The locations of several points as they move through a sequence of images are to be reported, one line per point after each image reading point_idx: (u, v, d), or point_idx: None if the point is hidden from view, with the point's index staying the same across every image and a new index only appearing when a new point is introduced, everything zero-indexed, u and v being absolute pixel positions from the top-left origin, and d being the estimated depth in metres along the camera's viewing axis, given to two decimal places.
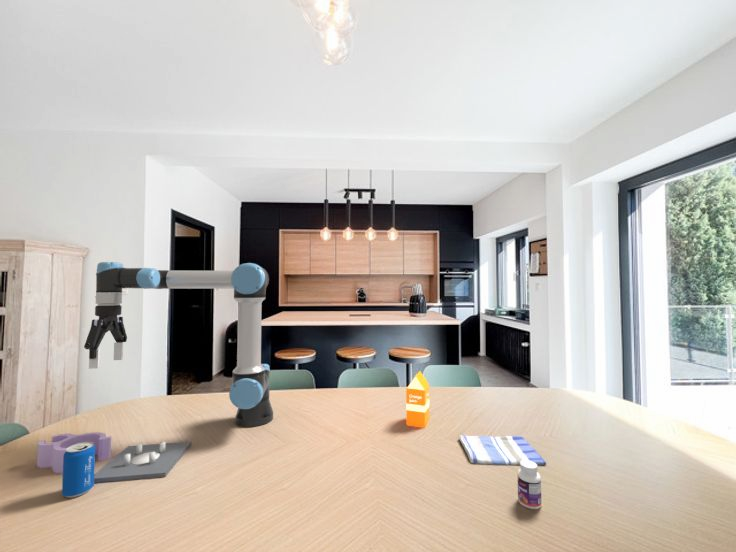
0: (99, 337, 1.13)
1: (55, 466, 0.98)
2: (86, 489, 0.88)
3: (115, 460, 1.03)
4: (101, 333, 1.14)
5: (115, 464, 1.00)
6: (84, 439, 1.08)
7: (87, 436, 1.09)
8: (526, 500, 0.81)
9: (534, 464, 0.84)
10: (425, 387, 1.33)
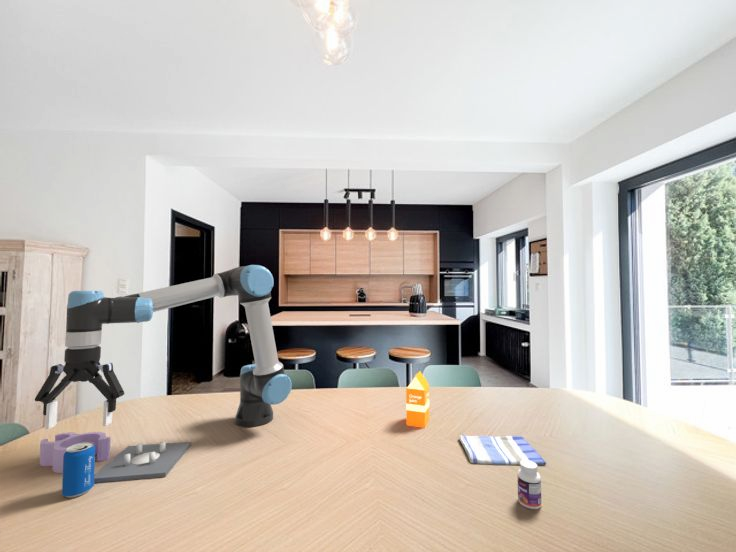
0: None
1: (55, 465, 0.99)
2: (86, 489, 0.88)
3: (115, 460, 1.03)
4: None
5: (115, 464, 1.00)
6: (85, 438, 1.09)
7: (88, 435, 1.09)
8: (526, 500, 0.81)
9: (534, 464, 0.84)
10: (425, 387, 1.33)
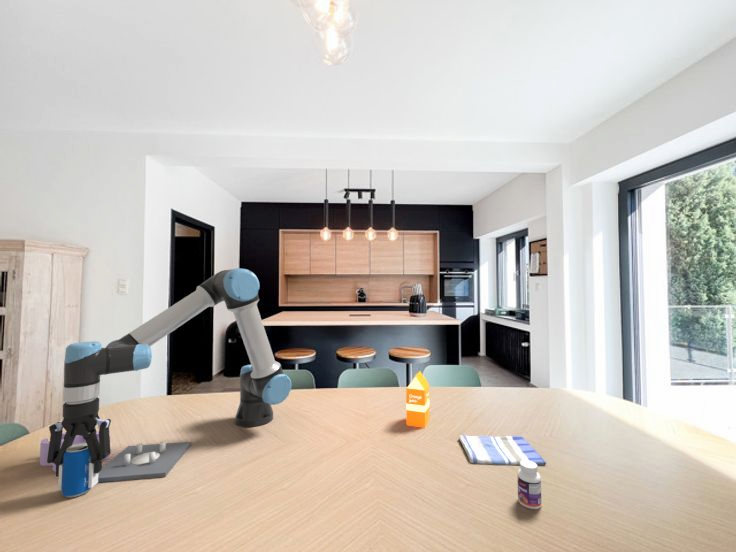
0: None
1: (54, 465, 0.99)
2: (86, 489, 0.88)
3: (115, 460, 1.03)
4: None
5: (115, 464, 1.00)
6: None
7: None
8: (526, 500, 0.81)
9: (534, 464, 0.84)
10: (425, 387, 1.33)
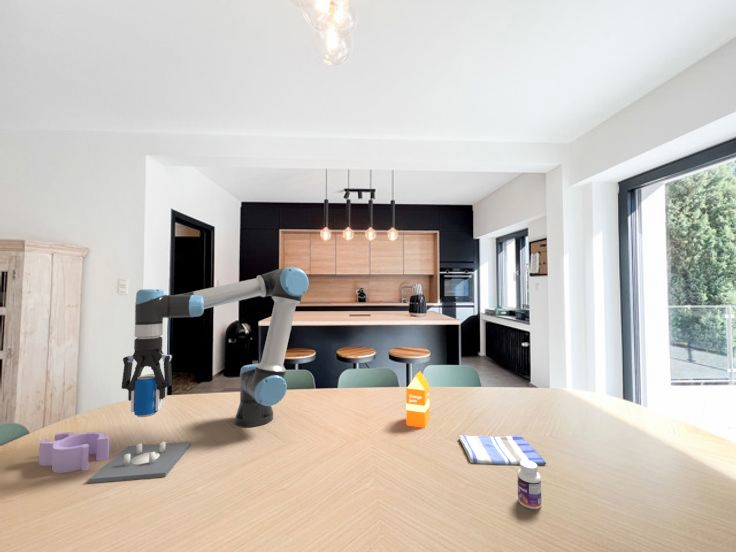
0: None
1: (54, 465, 0.99)
2: (154, 411, 1.04)
3: (115, 460, 1.03)
4: None
5: (115, 464, 1.00)
6: (85, 438, 1.09)
7: (88, 435, 1.09)
8: (526, 500, 0.81)
9: (534, 464, 0.84)
10: (425, 387, 1.33)
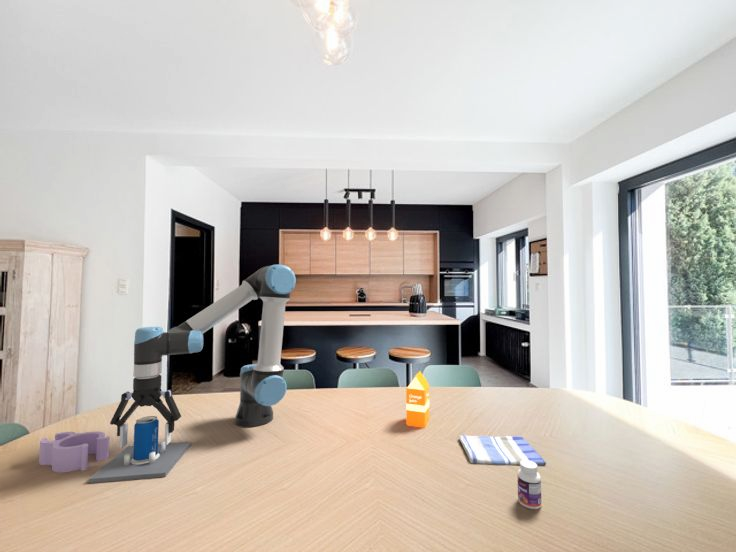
0: (125, 413, 1.03)
1: (53, 465, 0.99)
2: None
3: (115, 460, 1.03)
4: (129, 409, 1.03)
5: (115, 464, 1.00)
6: (85, 438, 1.09)
7: (88, 435, 1.09)
8: (526, 500, 0.81)
9: (534, 464, 0.84)
10: (425, 387, 1.33)
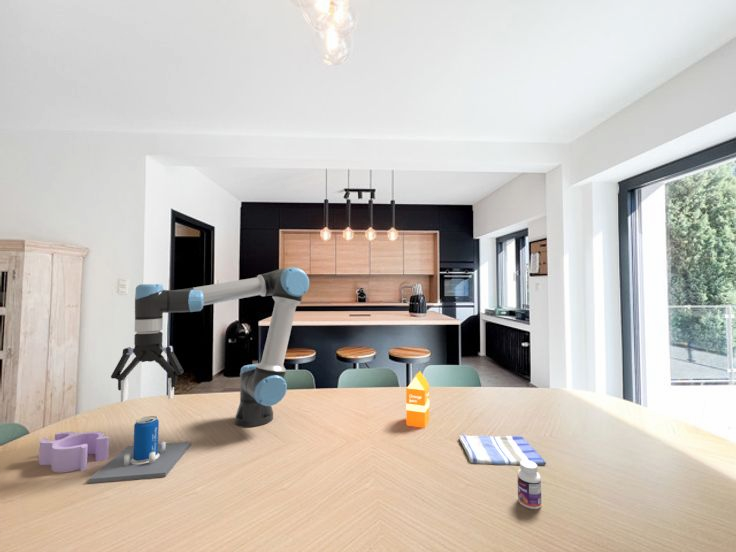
0: (126, 368, 1.04)
1: (53, 465, 0.99)
2: None
3: (115, 460, 1.03)
4: (130, 363, 1.04)
5: (115, 464, 1.00)
6: (84, 438, 1.09)
7: (87, 435, 1.09)
8: (526, 500, 0.81)
9: (534, 464, 0.84)
10: (425, 387, 1.33)
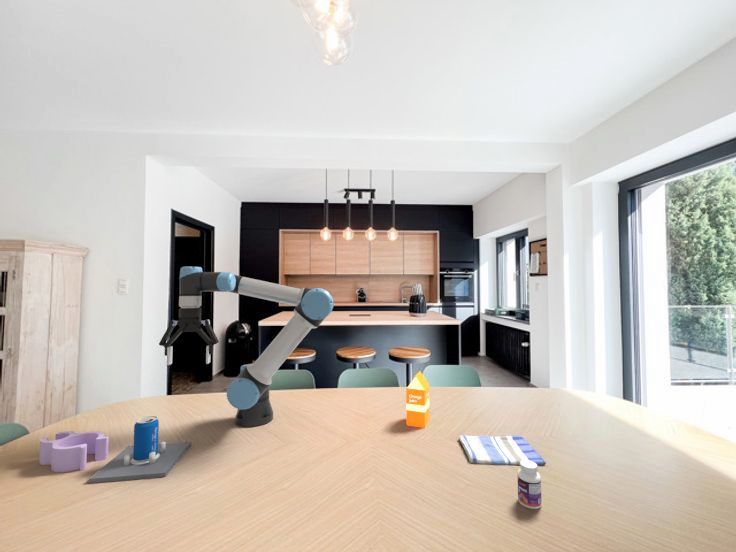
0: (171, 337, 1.23)
1: (53, 464, 0.99)
2: None
3: (115, 460, 1.03)
4: None
5: (115, 464, 1.00)
6: (84, 438, 1.09)
7: (88, 434, 1.10)
8: (526, 500, 0.81)
9: (534, 464, 0.84)
10: (425, 387, 1.33)
